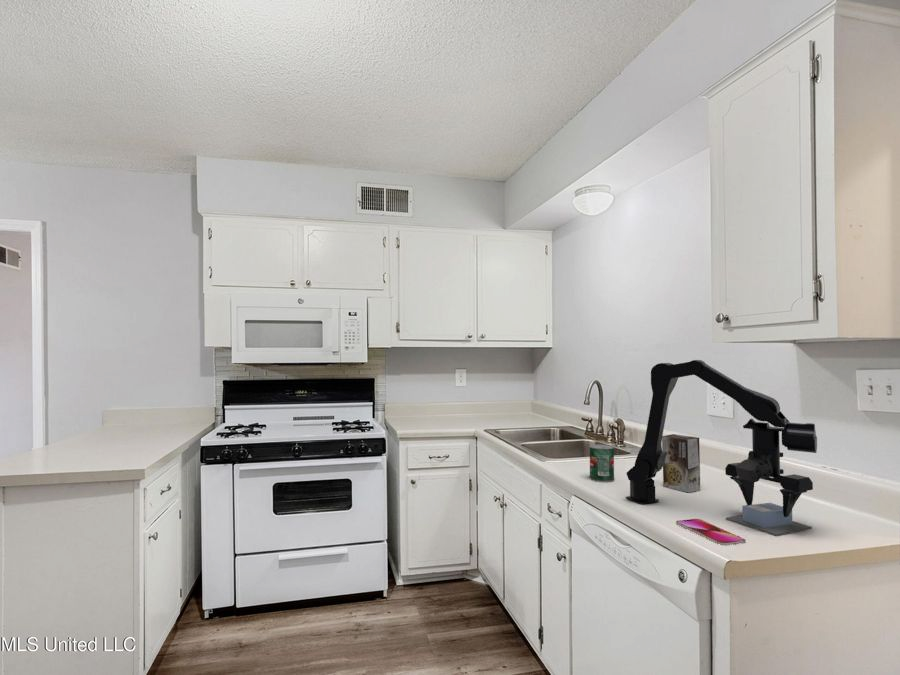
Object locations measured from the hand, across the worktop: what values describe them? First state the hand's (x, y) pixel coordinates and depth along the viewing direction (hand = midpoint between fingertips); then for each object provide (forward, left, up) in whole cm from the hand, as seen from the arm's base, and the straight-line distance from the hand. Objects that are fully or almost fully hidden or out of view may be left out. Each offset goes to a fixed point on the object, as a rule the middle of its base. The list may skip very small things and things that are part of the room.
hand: (767, 511), depth 125 cm
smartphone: (-1, -18, -4) cm, 19 cm away
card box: (0, 0, -3) cm, 3 cm away
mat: (0, 0, -3) cm, 3 cm away
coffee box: (-32, +8, -3) cm, 34 cm away
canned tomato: (-51, -7, -3) cm, 52 cm away
